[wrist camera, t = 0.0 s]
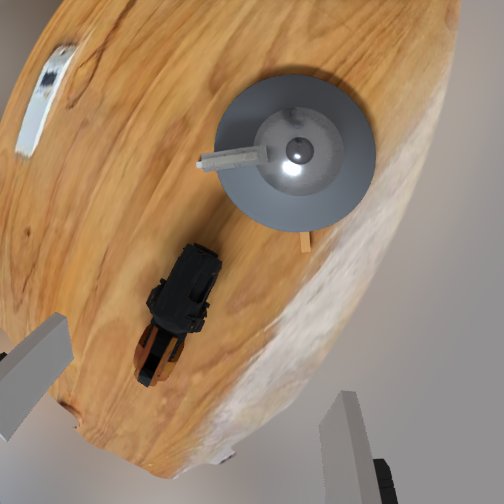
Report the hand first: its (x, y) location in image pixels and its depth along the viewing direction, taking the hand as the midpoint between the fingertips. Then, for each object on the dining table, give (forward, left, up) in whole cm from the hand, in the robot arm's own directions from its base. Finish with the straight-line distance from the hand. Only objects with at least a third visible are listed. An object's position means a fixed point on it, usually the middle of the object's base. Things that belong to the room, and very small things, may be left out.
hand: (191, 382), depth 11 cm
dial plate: (-10, +3, -28) cm, 30 cm away
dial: (-10, +1, -26) cm, 28 cm away
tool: (+14, -7, -28) cm, 32 cm away
